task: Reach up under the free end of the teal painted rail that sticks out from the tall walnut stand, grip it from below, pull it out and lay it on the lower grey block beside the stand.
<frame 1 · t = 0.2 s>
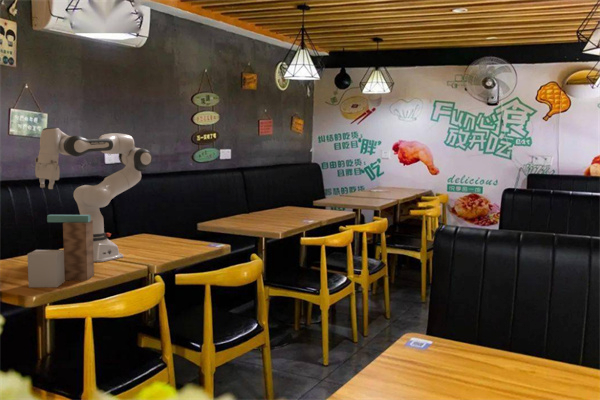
hand: (46, 188, 274), 39 cm above the table, tool pointing down, fingers open, 8 cm apart
rail: (69, 221, 254), point 26 cm above the table, touching stand
grey block: (47, 284, 244), on the table
stand: (79, 277, 257), on the table
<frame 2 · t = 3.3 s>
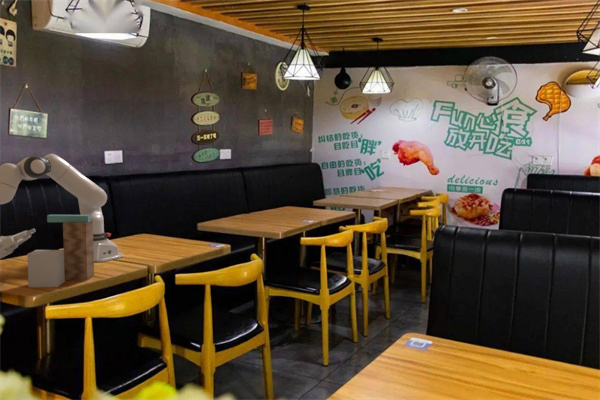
hand: (30, 231, 253), 21 cm above the table, tool pointing upward, fingers open, 8 cm apart
nothing on the table moved.
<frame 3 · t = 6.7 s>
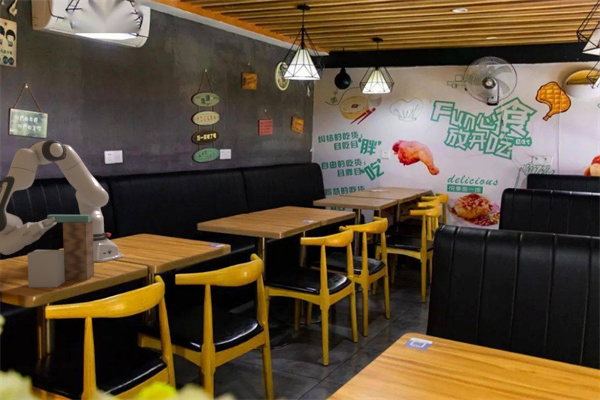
hand: (57, 217, 253), 28 cm above the table, tool pointing upward, fingers closed on rail, 3 cm apart
rail: (69, 221, 254), point 26 cm above the table, touching gripper, stand
everything else where it was.
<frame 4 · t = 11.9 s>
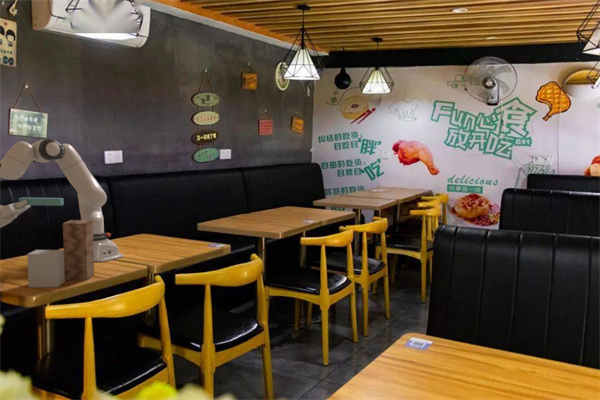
hand: (29, 200, 250), 36 cm above the table, tool pointing upward, fingers closed on rail, 3 cm apart
rail: (41, 204, 250), point 34 cm above the table, touching gripper
everything else where it was.
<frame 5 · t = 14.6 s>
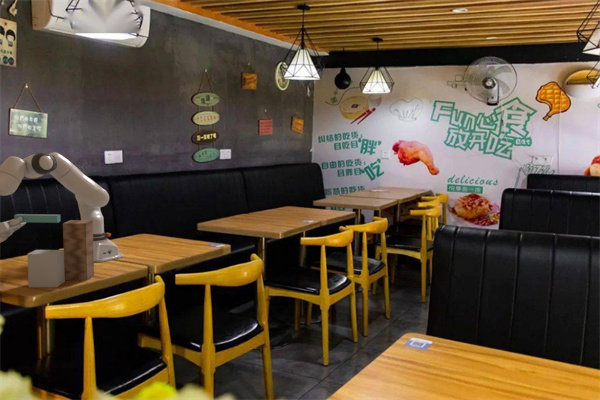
hand: (24, 217, 241), 30 cm above the table, tool pointing upward, fingers closed on rail, 3 cm apart
rail: (37, 221, 241), point 28 cm above the table, touching gripper
everything else where it was.
when the fingers open (19 cm above the table, at t = 17.1 s): rail drops 3 cm, resting on grey block.
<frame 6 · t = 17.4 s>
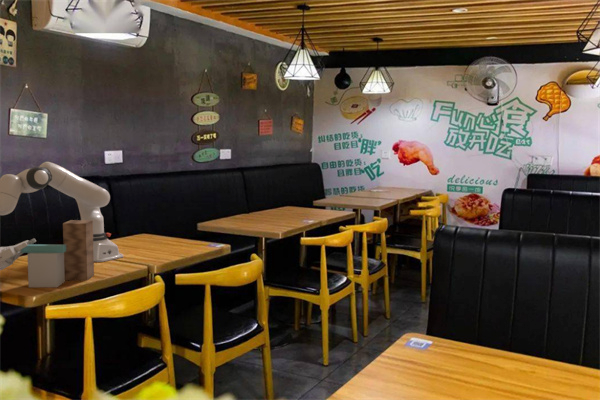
hand: (31, 241, 242), 19 cm above the table, tool pointing upward, fingers open, 7 cm apart
rail: (43, 251, 243), point 14 cm above the table, touching grey block
everything else where it was.
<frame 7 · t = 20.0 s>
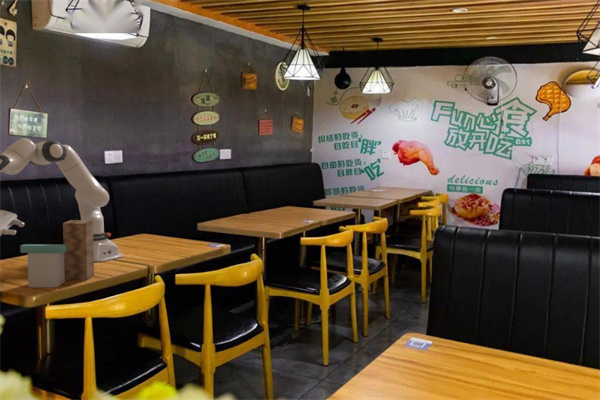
hand: (19, 228, 244), 24 cm above the table, tool tilted 75°, fingers open, 8 cm apart
nothing on the table moved.
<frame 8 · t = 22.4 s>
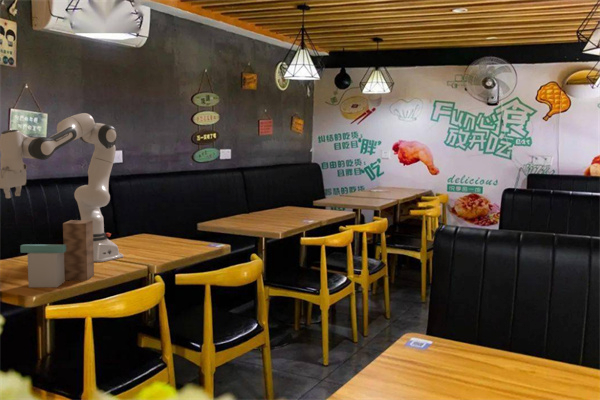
hand: (13, 197, 251), 37 cm above the table, tool pointing down, fingers open, 8 cm apart
nothing on the table moved.
at the end: rail inside the target area on the grey block (1.0 cm from its centre), point 14.5 cm above the grey block's base; the gripper is holding nothing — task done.
